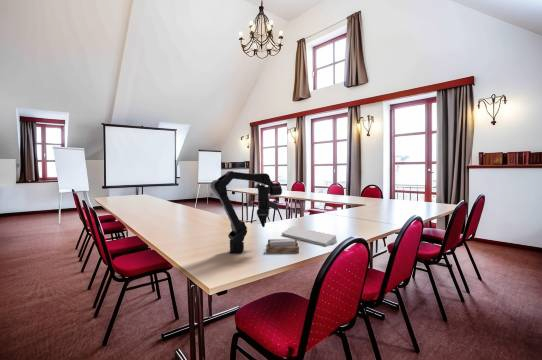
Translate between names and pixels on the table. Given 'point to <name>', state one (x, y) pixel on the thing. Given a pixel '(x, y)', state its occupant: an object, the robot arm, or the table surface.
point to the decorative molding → (310, 236)
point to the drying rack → (282, 248)
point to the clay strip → (283, 243)
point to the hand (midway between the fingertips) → (263, 225)
